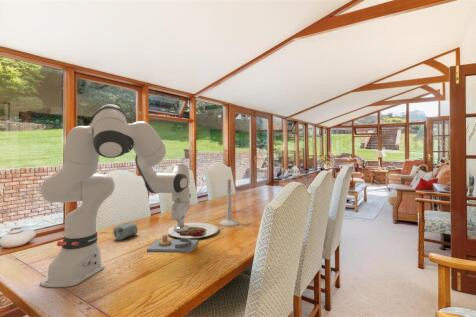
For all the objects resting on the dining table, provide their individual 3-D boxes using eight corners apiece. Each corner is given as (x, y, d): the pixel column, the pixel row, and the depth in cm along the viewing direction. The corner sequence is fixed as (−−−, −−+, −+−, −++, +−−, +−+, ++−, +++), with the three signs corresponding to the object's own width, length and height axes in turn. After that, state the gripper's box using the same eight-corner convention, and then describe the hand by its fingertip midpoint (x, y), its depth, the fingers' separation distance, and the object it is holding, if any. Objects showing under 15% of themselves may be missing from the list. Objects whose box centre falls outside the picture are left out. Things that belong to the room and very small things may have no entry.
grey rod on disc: (235, 220, 183) (235, 177, 182) (241, 225, 171) (241, 179, 170) (217, 222, 179) (217, 178, 178) (222, 227, 167) (222, 180, 166)
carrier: (192, 252, 126) (192, 240, 125) (147, 251, 126) (146, 239, 126) (197, 242, 140) (197, 231, 139) (157, 241, 140) (157, 230, 140)
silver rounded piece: (186, 232, 128) (186, 220, 128) (172, 231, 129) (172, 219, 129) (189, 227, 135) (189, 216, 135) (176, 227, 136) (176, 216, 136)
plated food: (190, 223, 177) (190, 218, 177) (228, 229, 162) (228, 224, 162) (156, 235, 151) (156, 229, 151) (197, 244, 136) (197, 238, 136)
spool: (120, 237, 138) (119, 218, 142) (109, 242, 141) (108, 224, 146) (142, 236, 149) (140, 219, 153) (131, 241, 153) (130, 225, 157)
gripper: (181, 200, 121) (181, 230, 121) (191, 193, 141) (191, 219, 142) (167, 200, 121) (168, 230, 122) (180, 193, 142) (180, 218, 142)
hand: (180, 224), depth 132 cm, fingers closed on silver rounded piece, 3 cm apart
